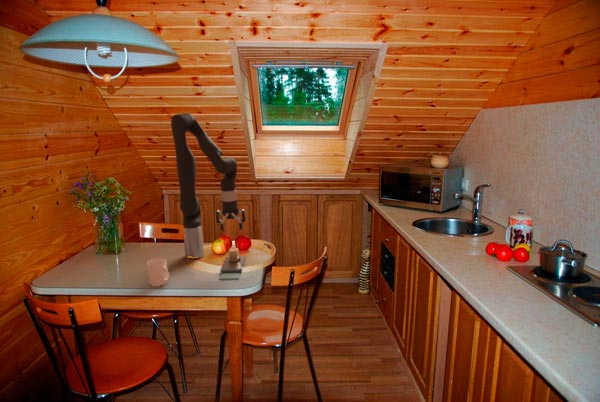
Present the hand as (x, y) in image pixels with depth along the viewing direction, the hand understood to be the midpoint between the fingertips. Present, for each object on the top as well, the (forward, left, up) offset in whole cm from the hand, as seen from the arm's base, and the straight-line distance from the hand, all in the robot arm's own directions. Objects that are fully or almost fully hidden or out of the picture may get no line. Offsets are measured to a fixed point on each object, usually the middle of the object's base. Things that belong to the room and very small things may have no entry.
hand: (232, 230), depth 211 cm
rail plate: (0, -3, -18) cm, 19 cm away
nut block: (0, 0, -18) cm, 18 cm away
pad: (0, -15, -18) cm, 23 cm away
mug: (-31, -20, -19) cm, 41 cm away
